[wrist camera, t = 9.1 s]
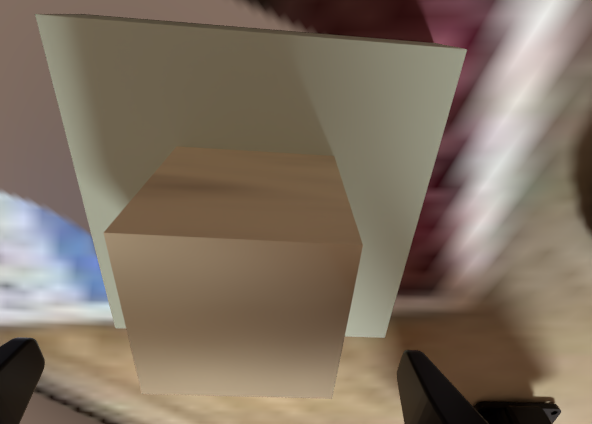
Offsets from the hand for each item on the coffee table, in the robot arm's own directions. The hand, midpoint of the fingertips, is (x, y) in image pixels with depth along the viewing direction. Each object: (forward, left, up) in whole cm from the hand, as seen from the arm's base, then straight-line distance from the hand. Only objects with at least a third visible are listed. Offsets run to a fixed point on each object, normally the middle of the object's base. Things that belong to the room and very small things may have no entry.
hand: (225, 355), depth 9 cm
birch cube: (0, 0, -7) cm, 7 cm away
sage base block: (0, 0, -10) cm, 10 cm away
